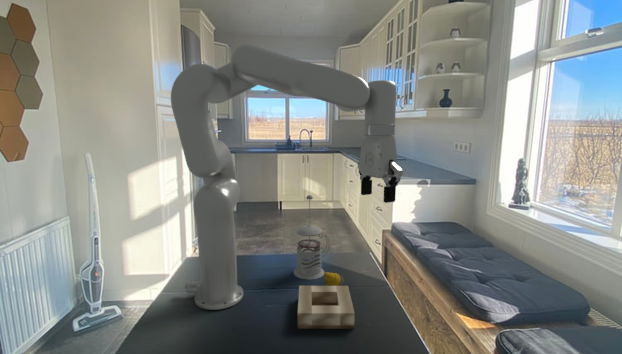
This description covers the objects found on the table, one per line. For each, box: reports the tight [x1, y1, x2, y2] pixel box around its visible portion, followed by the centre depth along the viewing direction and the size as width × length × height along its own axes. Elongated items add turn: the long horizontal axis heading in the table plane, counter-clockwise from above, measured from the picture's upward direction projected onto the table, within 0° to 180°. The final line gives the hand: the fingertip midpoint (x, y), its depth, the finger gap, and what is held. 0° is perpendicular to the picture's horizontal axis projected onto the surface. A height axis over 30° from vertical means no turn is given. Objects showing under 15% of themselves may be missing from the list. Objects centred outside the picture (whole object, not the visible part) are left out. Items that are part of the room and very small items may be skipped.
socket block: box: [297, 285, 356, 330], centre depth 82 cm, size 13×13×4 cm
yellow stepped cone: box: [323, 271, 344, 286], centre depth 93 cm, size 5×5×10 cm
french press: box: [293, 194, 331, 280], centre depth 103 cm, size 10×12×25 cm
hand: (377, 198), depth 86 cm, fingers open, 9 cm apart
